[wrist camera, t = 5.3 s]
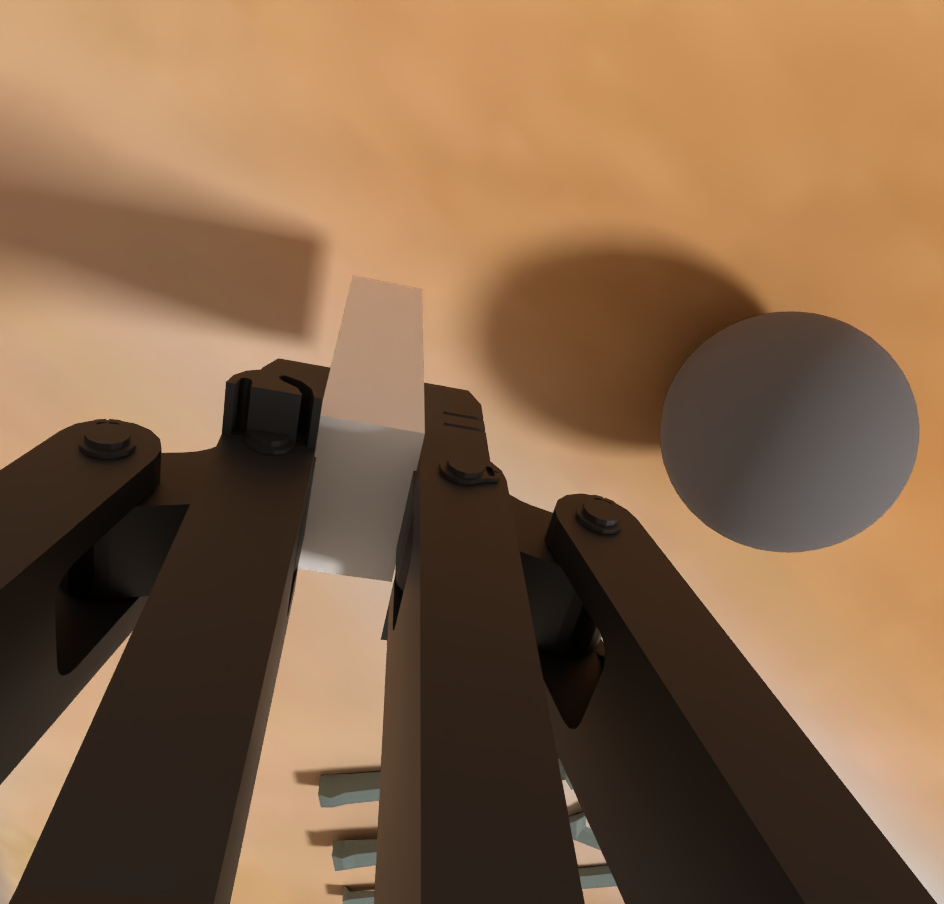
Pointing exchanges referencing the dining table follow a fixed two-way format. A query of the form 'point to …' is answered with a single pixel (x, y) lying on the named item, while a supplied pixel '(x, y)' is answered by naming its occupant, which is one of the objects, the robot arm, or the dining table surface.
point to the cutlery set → (364, 851)
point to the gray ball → (789, 431)
